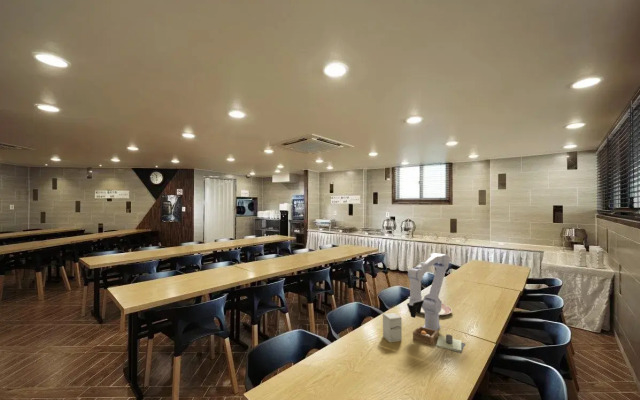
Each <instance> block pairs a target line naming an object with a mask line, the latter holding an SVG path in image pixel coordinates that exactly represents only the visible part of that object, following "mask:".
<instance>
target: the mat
mask: <svg viewBox="0 0 640 400" xmlns="http://www.w3.org/2000/svg"><path fill="white" fill-rule="evenodd" d="M434 346H435V347H437V342H435V343H434ZM465 346H466V342H462V345H461V352H459V351H455V350H450V349H447V351H448V350H449V351H452V352H455V353H458V354H462V351H463V350H464V348H465ZM443 349H444V350H446V349H445V348H443Z"/></svg>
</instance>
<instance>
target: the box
mask: <svg viewBox="0 0 640 400" xmlns="http://www.w3.org/2000/svg"><path fill="white" fill-rule="evenodd" d="M421 331H425V332H426V333H427V334H428V335H430V336H427V335H424V334H421ZM438 336H439V330H437V331H436V330H433V329H429V328H425V327H423V326H420V325H419V326H418V327H416V329H415V330H414V331H413V332H412V340H415V341H418V342H420V343H425V344H426V345H430V346H433V345H435V344H436V342H437V341H438Z"/></svg>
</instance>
